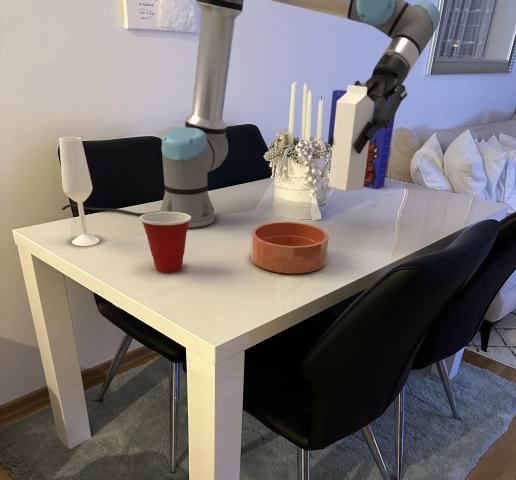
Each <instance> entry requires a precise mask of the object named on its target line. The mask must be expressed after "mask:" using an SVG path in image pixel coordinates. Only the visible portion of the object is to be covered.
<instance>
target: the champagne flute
mask: <svg viewBox="0 0 516 480" xmlns="http://www.w3.org/2000/svg"><path fill="white" fill-rule="evenodd" d="M58 141H59V155H60V156H59V157H60V168H61V169H60V170H61V184H62V185H61V186H62V191H63V193H64V194H66V196H67V197H68V198H69V199H71V200H72V201H73V202H76V203H77V205H78V208H77V209H78V215H79V221H80V228H81V234H80V235H79V236H77V237H76V238H74V239H73V240H72V241H71V244H72V245H74V246H80V247H85V246H93V245H97V244H98V243H100V238H99V237H96V236H94V235H92V234H90V233H88V229H87V222H86V216H85V215H86V214H85V209H83V207H84V202H86V200H87V199H88V198H89V197H90V196H91V194H92V191H93V189H94V187H93V183H92V179H91V173H90V170H89V166H88V161H87V157H86V153H85V149H84V145H83V140H82V138H81V137H78V136H63V137H59V138H58Z"/></svg>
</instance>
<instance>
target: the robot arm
mask: <svg viewBox="0 0 516 480" xmlns="http://www.w3.org/2000/svg"><path fill="white" fill-rule="evenodd" d="M244 1H245V0H195V2H196V5H197V7H198V8H199V9H200V13H201V14H200V25H199V35H198V42H197V43H198V46H197V54H196V66H195V74H194V75H195V76H194V84H193V85H194V86H193V96H192V105H191V113H190V114H189V115H188V116H187V117H185V120H184V121H185V122H184V127H178V128H173V129H170V130H167V131H166V132H165V133H164V134H163V135H162V138H161V146H160V147H161V154H162V168H163V183H164V195H163V199H162V203H161V207H160V210H156V211H148V212H134V211H129V210H126V209H118V208H105V207H104V208H102V207H101V208H99V207H86V206H83V209H84V211H90V212H91V211H95V212H116V213H117V212H118V213H123V214H129V215H132V216H139V217H140V216H142V215H143V214H148V213H153V212H179V213H185V214H188V215H190V216H191V220H190V221H189V224H188V229H197V228H203V227H207V226H210V225H211V224H213V223H214V222H215V208H214V207H213V204H212V201H211V199H210V196H209V192H208V173H210V172H211V171H214V170H216V169H217V168H219V167H221V165H222V163H223V162H224V161H225V159H226V158H227V155H228V152H229V142H228V139H227V137H226V134H227V127H228V125H227V124H226V123H225V121H224V120H223V115H224V108H225V101H226V100H225V99H226V95H227V94H226V92H227V85H228V77H229V69H230V62H231V55H232V47H233V40H234V31H235V23H236V19H237V18H238V17H239V16H240V15H241V14H243V9H244ZM271 1H272V2H276V3H280V4H284V5H289V6H292V7H297V8H301V9H304V10H308V11H313V12H317V13H322V14H326V15H330V16H334V17H338V18H341V19H347V20H350V21H354V22H356V23H362V24H365V25H368V26H371V27H373V28H375V29H376V30H378V31H380V32H381V33H383V34H384V35H386V36H387V37H388V38H390V39H391V41H390V42H389V44H388V46H387V48H386V49H385V50H384V52H383V54H382V55H381V57H380V58H379V60H378V61H377V63H376V64H375V66H374V68H373V70H372V74H371V77H370V78H368V79H367V80H366V82H361V81H360V80H356V81H354V83H353V86H362V87H367V96H368V97H369V98H370V99H371V100H372V101H377V104H376V108H375V112H374V116H373V118H371V120H372V119H373V120H372V122H373V123H371V122H368V123H367V124H366V126H365V128H364V129H363V131H362V132H361V134H360V136H359V137H358V139H357V140H356V142H355V144H354V145H353V146H354V148H355V150H356V152H357V153H358V154H360V153H361V151H362V150H363V148H364V147H365V145H366V143H367V142H368V140H371V139H372V138H373V136H374V135H375V133H376V132H377V130H379V129H380V128H384V129H386V128H388V127H389V125H390V123H391V121H392V119H393V117H394V115H395V116H396V114H397V111H398V109H399V108H400V105H401V104H402V102H403V101H404V100H405V99H406V97H408V91H407V88H406V86H405V84H404V83H405V80H406V79H407V77H408V76H409V73H410V72H411V71H412V69H413V67H415V64H416V63H417V61H418V59H419V57H420V56H421V55H422V53H423V52H424V51H425V48H426V47H427V45H428V44H429V42H430V41H431V40H432V38H433V36H434V35H435V32H436V30H437V28H438V26H439V24H440V22H441V13H440V10H439V8H438V7H437V5H436V4H434V3H433V2H431V1H430V0H429V1H426V0H417V2H415V3H414V4H413V5H412V4H411V3H409V2H407V1H405V0H271ZM392 95H393V96H392ZM390 96H392V98H391V100H390V102H389V104H388V106H387V103H388V99H389V97H390ZM386 106H387V108H386V110H385V107H386ZM335 114H336V112H335ZM333 131H334V129H333ZM333 137H334V132H333V133H332V135H331V136H330V138H329V140H328V139H327V143H328V142H329V143H330V145H331V147H333ZM68 208H77V209H78V204H66V205H64V206H62V208H61V209H60V210H61V211H64V210H66V209H68Z"/></svg>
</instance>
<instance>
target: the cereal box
mask: <svg viewBox="0 0 516 480" xmlns="http://www.w3.org/2000/svg"><path fill="white" fill-rule="evenodd" d="M346 93H347V89H345V90H344V89H335V90H332V93H331V94H332V96H331V104H330V105H331V106H330V117H329V126H328V137H327V145H328V144H330V143H329V142H328V140H329V138H330V136H331V135H332V133H333V132H334V131H333V129H334V126H335V116H336V114H335V112H336V106H337V101H338V100H339V99H340V98H341V97H342V96H343V95H344V94H346ZM392 96H393V95H392ZM392 96H390V97H389V99H388V103H387V106H388V104H389V102H390V100H391V98H392ZM373 102H374V109H373V116H374V112H375V108H376V104H377V101H373ZM387 106H386V107H385V110H386V108H387ZM395 117H396V114H395V115H394V117H393V119H392V121H391V123H390V125H389V127H388V128H386V129H384V128H380V129H379V130H377V132H376V133H375V135H374V136H373V138H372V139H371V140H369V147H368V155H367V162H366V170H365V177H364V185H363V187H365V188H369V189H375V190H377V189H380V188H383V187H384V186H385V181H386V176H387V175H386V174H387V168H388V162H389V156H390V149H391V144H392V137H393V130H394V124H395V119H396V118H395ZM372 118H373V117H372ZM372 120H373V119H372ZM372 123H373V122H372Z"/></svg>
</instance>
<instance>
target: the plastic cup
mask: <svg viewBox="0 0 516 480" xmlns="http://www.w3.org/2000/svg"><path fill="white" fill-rule="evenodd" d="M152 212H153V213H148V212H147V213H148V214H143V215H142V216H139V220H140V222H141V223H142V225H143V229H144V232H145V234H146V238H147V242H148V245H149V249H150V253H151V254H150V255H151V256H152V259H153V263H154V264H153V265H154V268H155V270H156V271H157V272H159V273H163V274H173V273H177V272H179V271H181V270H182V269H183V268H182V267H183V263H184V255H185V249H186V240H187V233H188V229H189V228H188V224H189V221H190V220H191V216H190V215H188V214H185V213H179V212H155V211H152Z"/></svg>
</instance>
